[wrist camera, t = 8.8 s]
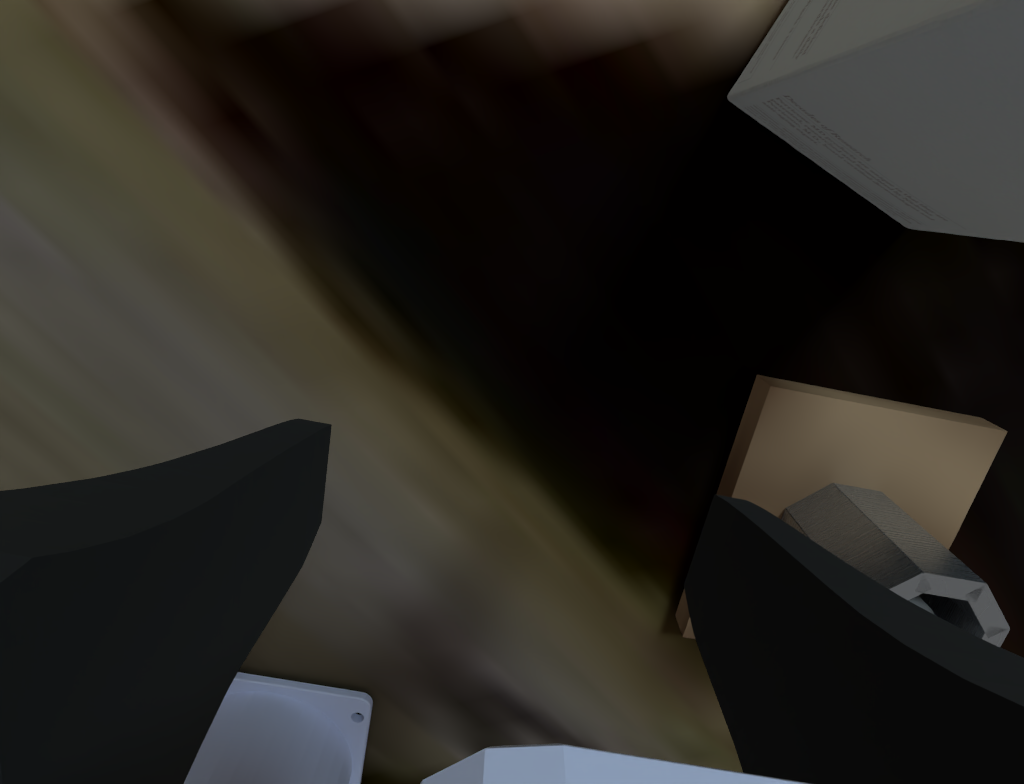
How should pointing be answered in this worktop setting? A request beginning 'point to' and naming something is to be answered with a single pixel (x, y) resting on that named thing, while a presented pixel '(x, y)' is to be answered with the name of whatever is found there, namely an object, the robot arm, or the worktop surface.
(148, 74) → the worktop surface
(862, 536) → the tube
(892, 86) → the supplement box
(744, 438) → the shaft block
